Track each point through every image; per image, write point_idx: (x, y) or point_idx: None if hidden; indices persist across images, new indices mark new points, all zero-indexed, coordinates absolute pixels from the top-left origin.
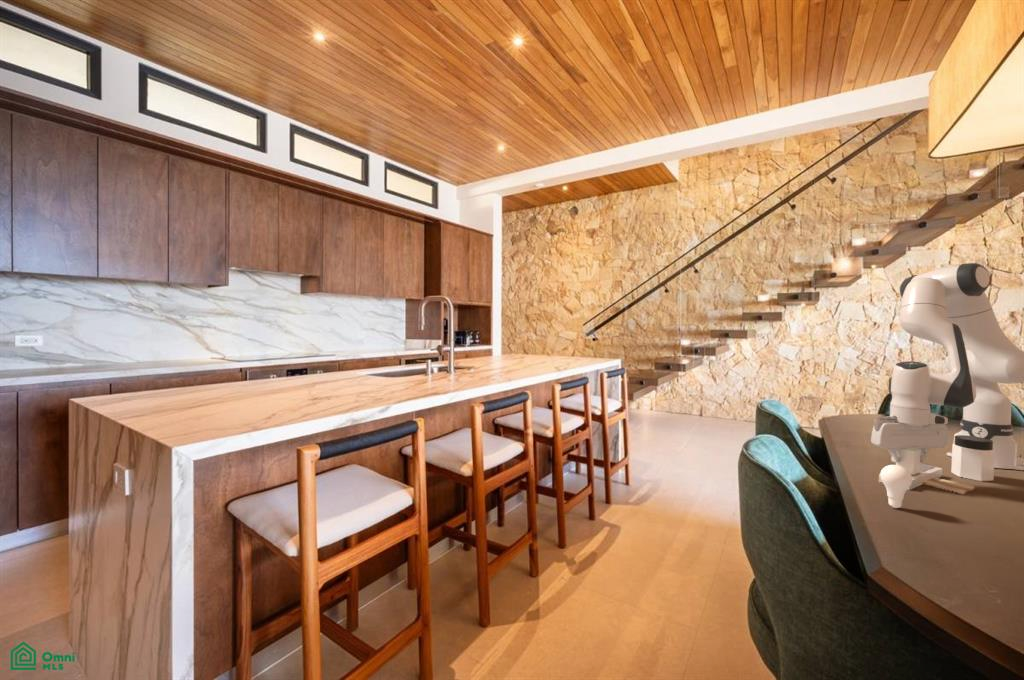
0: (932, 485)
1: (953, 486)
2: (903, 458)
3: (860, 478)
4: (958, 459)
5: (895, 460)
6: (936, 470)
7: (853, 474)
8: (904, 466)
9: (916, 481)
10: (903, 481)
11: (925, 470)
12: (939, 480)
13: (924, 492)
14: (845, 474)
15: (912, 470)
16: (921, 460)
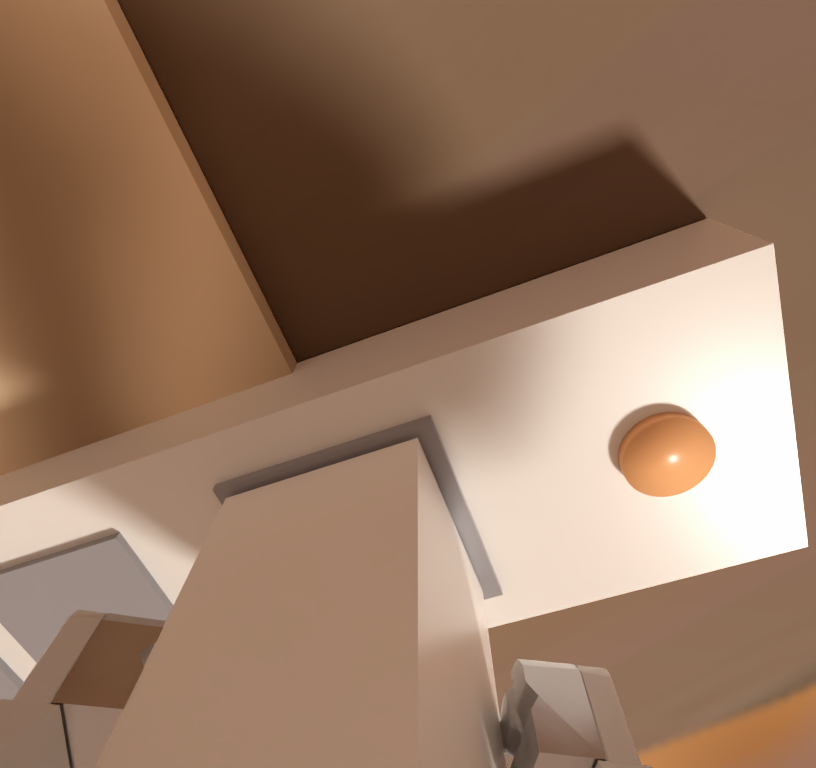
0: (250, 286)
1: (13, 189)
2: (473, 720)
3: (801, 584)
4: None
5: (611, 701)
6: None
7: (730, 668)
8: (458, 588)
9: (494, 320)
10: None
11: (38, 561)
12: (6, 400)
13: (594, 114)
14: (811, 676)
15: (422, 486)
16: (128, 641)
